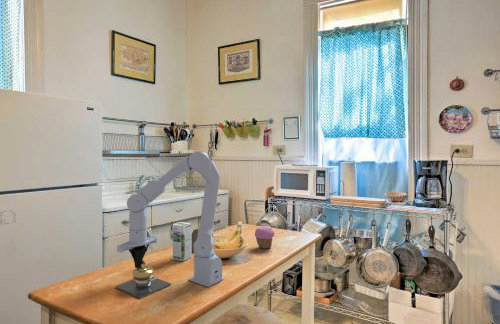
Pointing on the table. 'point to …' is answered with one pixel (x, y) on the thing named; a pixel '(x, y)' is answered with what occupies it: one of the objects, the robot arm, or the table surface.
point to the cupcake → (264, 236)
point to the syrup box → (182, 241)
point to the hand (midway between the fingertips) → (138, 267)
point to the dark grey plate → (143, 286)
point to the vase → (194, 237)
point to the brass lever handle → (143, 272)
